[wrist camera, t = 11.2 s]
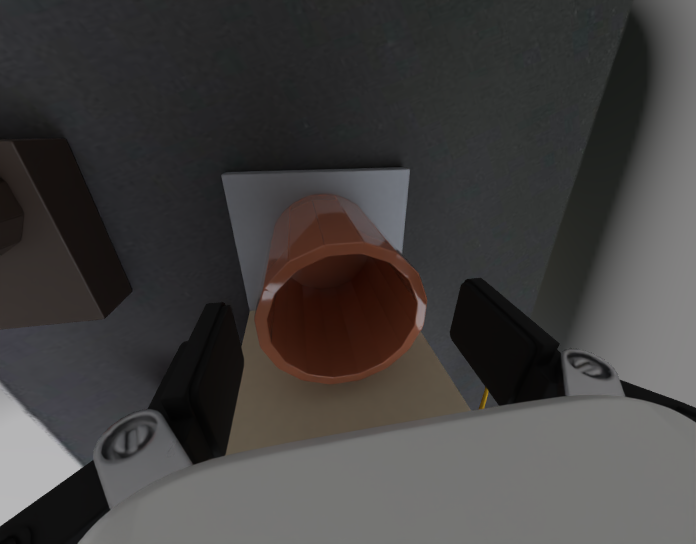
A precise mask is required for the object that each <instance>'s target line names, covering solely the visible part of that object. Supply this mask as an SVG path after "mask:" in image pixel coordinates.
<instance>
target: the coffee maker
mask: <svg viewBox="0 0 696 544" xmlns="http://www.w3.org/2000/svg"><path fill="white" fill-rule="evenodd" d="M409 175H410V169H408V168H405V167H391V168H355V169H320V170H284V171H249V172H225V173H224V174H222V175H221V177H222V182H223V187H224V191H225V196H226V201H227V205H228V210H229V215H230V220H231V224H232V229H233V234H234V239H235V243H236V248H237V253H238V258H239V262H240V267H241V272H242V276H243V281H244V286H245V291H246V295H247V300H248V305H249V310H250V313H249V317H248V321H247V326H246V330H245V334H244V338H243V343H242V347H241V348H242V352H243V356H244V369H243V374H242V379H241V384H240V388H239V393H238V398H237V403H236V408H235V412H234V417H233V422H232V427H231V432H230V437H229V441H228V446H227V451H226V454H225V456H226V455H230V454H234V453H239V452H243V451H248V450H253V449H259V448H264V447H269V446H274V445H279V444H284V443H289V442H294V441H300V440H306V439H311V438H317V437H323V436H328V435H334V434H340V433H345V432H351V431H356V430H362V429H368V428H373V427H379V426H385V425H391V424H397V423H402V422H408V421H414V420H420V419H426V418H431V417H437V416H443V415H449V414H455V413H461V412H467V411H471V410H470V408H469V407H468V405H467V403H466V402H465V400H464V399H463V397H462V396H461V394H460V392H459V391H458V389H457V388H456V386H455V385H454V383H453V381H452V380H451V378H450V377H449V375H448V374H447V372H446V370H445V369H444V367H443V366H442V364H441V363H440V361H439V359H438V358H437V356H436V355H435V353H434V352H433V350H432V348H431V347H430V345H429V344H428V342H427V341H426V339H425V337H424V336H423V334H422V333H421V331H420V333H419V334H418V336H417V338H416V339H415V341H414V343H413V344H412V346H411V348H410V349H409V350H408V351H407V352H406V353H405V354H404V355H402V356H401V357H400V358H399V359H398V360H396V361H395V362H394V363H393V364H392V365H391V366H389V367H388V368H386V369H384V370H382V371H380V372H378V373H376V374H373V375H371V376H369V377H367V378H364V379H362V380H359V381H352V382H345V383H339V384H323V383H315V382H308V381H303V380H300V379H298V378H296V377H294V376H292V375H290V374H288V373H286V372H284V371H282V370H280V369H278V368H277V367H276V366H275V365H274V363H273V362H272V361H271V360H270V359H269V357H268V356H267V355H266V354H265V353H264V351H263V350H262V349H261V348H260V346H259V341H258V336H257V332H256V327H255V322H254V316H255V311H256V306H257V301H258V296H259V291H260V287H261V282H262V277H263V272H264V267H265V262H266V257H267V252H268V248H269V243H270V239H271V236H272V232H273V229H274V226H275V223H276V221H277V220H278V218H279V217H280V215H281V214H282V213H283V212H284V211H285V210H286V209H287V208H288V207H289V206H290V205H291V204H293V203H294V202H296V201H298V200H299V199H301V198H304V197H307V196H310V195H314V194H333V195H338V196H341V197H344V198H346V199H349V200H350V201H352V202H354V203H356V204H357V205H358V206H359V207H360V208H361V209H362V210H363V211H364V212H365V213H366V214H367V215H368V216H369V217H370V218H371V220H372V221H373V222H374V223H375V224H376V225H377V226H378V227H379V229H380V230H381V231H382V232H383V233H384V234H385V235H386V237H387V238H388V239H389V240H390V241H391V242H392V243H393V245H394V246H395V247H396V248H397V249H398V250H399V251H400V252H401V254H402V248H403V238H404V227H405V217H406V206H407V196H408V185H409Z"/></svg>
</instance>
